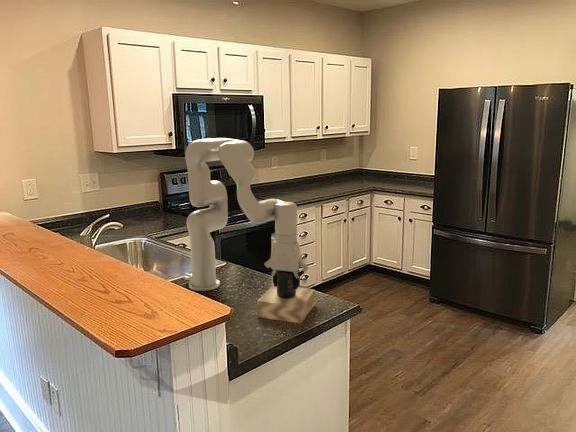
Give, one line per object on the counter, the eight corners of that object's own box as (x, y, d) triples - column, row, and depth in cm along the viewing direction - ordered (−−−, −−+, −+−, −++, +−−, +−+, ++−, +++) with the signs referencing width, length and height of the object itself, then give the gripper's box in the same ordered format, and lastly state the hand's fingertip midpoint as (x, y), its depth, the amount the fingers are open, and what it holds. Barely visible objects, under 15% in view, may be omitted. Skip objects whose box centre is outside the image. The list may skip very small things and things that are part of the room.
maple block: (257, 317, 161) (257, 300, 159) (273, 299, 175) (273, 284, 174) (301, 323, 156) (301, 306, 154) (314, 305, 171) (314, 289, 169)
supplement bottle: (295, 291, 168) (295, 259, 165) (296, 298, 161) (296, 265, 158) (276, 291, 168) (276, 259, 165) (276, 299, 161) (276, 266, 158)
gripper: (258, 238, 159) (259, 287, 163) (307, 243, 154) (306, 293, 158) (266, 233, 166) (267, 280, 170) (313, 237, 160) (312, 285, 164)
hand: (286, 286), depth 164 cm, fingers closed on supplement bottle, 6 cm apart
